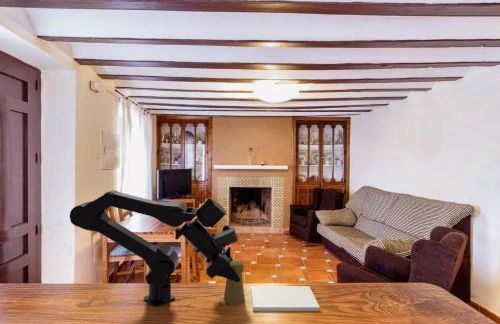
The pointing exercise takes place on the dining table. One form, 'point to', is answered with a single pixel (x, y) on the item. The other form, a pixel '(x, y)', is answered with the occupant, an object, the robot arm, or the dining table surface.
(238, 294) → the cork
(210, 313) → the dining table surface
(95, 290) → the dining table surface
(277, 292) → the white board
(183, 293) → the dining table surface
